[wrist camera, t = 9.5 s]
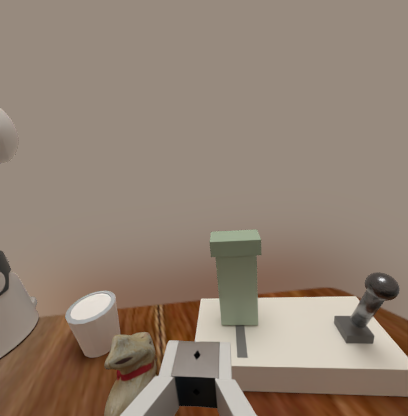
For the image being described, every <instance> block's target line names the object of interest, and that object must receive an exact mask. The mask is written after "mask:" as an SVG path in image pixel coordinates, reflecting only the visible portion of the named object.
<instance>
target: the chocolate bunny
mask: <svg viewBox="0 0 408 416" xmlns="http://www.w3.org/2000/svg"><path fill="white" fill-rule="evenodd" d="M156 361H157V355H155V349H154V345H153V342H152V339H151V337H150V334H149V333H147V332H141V333H136V334H133V335H132V336H130V335H118V334H117V335H115V336H114V337H113V339H112V344H111V350H110V353H109V355H108V357H107V359H106V362H105V366H104V367H105V368H106V369H116V370H117V379H116V381H115V383H114V385H113V387H112V389H111V391H110V394H109V397H108V399H107V403H106V407H105V412H104V416H120V415H121V414H122V413H123V412H124V410H125V409H126V408H127V407H128V406H129V405H130V404H131V403H132V402H133V400H134V399H135V398H136V397H137V396H138V395H139V394H140V393H141V391H142V390H143V389H144V388H145V387H146V386H147V385H148V384H149V383H150V381H151V380H152V379H153V378H154V377H155V376H157V375H156V369H157V367H156Z"/></svg>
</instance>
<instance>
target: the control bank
mask: <svg viewBox="0 0 408 416" xmlns="http://www.w3.org/2000/svg"><path fill="white" fill-rule="evenodd" d="M359 302H360V301H359V300H358V299H357V297H356V296H355V297H289V298H258V325H222V324H221V312H220V301H219V299H201V303H200V310H199V317H198V324H197V330H196V337H195V342H199V341H203V342H230V344H231V364H232V379H234V380H236V382H237V384H238V385H239V387H240V389H241V390H242V391H260V392H289V393H317V394H346V395H374V396H403V397H408V357H407V356H406V355H405V354H404V352H403V351H402V350H401V349H400V348H399V347H398V345H397V344H396V343H395V342H394V341H393V339H392V338H391V337H390V336H389V335H388V334H387V332H386V331H385V330H384V329H383V328H382V327H381V325H380V324H379V323H378V322H377V321H376V320H375V318H374V317H372V319H371V320H370V321H369V323H368V324H367V326H366V327H365V328H362V329H360V328H356V327H355V326H354V325H353V324H352V323H351V320H350V318H351V315H352V314H353V312H354V310H355V309H356V307H357V305H358V304H359Z"/></svg>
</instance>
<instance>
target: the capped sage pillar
mask: <svg viewBox="0 0 408 416" xmlns="http://www.w3.org/2000/svg"><path fill="white" fill-rule="evenodd" d="M210 251H211V257H216V267H217V278H218V289H219V301H220V312H221V324H222V325H258V294H257V261H256V260H257V257H256V255H261V238H260V236H259V233H258V231H257V230H241V231H221V232H211V236H210Z"/></svg>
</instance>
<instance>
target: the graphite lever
mask: <svg viewBox="0 0 408 416" xmlns="http://www.w3.org/2000/svg"><path fill="white" fill-rule="evenodd" d="M365 287H366V289H367V290H366V292H365V294H364V296H363V297H362V299H361V300H360V302H359V304H358V305H357V307H356V309H355V310H354V312H353V314H352V315H351V318H350V320H351V323H352V324H353V325H354V326H355V327H356V328H360V329H362V328H365V327H366V326H367V324H368V323H369V321H370V320H371V319H372V317H373V316H374V315H375V313H376V312H377V311H378V309H379V308H380V306H381V305H382V304H383V302H384V301H386V300H392V299H394V298H395V297H397V295H398V294H399V286H398V283H397V282H396V280H395V279H394V278H392V277H391V276H389V275H387V274H385V273H373V274H370V275H369V276H368V277H367V278H366V280H365Z"/></svg>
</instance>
